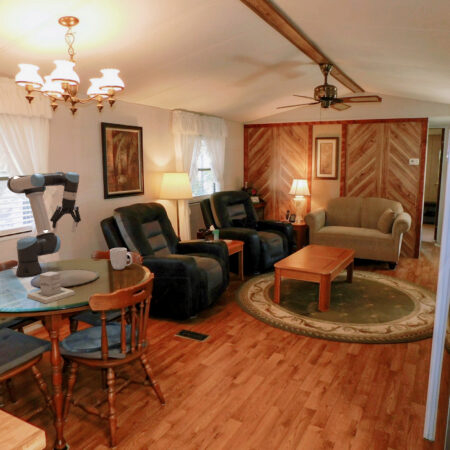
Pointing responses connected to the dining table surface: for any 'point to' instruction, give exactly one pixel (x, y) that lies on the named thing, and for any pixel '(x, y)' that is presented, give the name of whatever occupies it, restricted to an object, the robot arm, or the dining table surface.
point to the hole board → (45, 299)
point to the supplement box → (50, 283)
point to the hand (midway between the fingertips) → (64, 232)
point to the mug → (119, 258)
